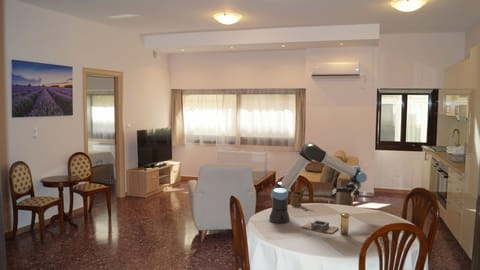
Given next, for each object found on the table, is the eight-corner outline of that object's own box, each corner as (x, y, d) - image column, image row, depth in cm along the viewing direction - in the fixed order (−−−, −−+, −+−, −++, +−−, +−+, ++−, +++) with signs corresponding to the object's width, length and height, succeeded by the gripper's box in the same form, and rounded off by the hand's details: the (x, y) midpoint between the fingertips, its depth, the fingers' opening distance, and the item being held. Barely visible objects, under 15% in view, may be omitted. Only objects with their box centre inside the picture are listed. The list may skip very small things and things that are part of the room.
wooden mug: (302, 207, 333) (303, 186, 331) (288, 204, 341) (288, 184, 339) (307, 205, 340) (307, 184, 339) (293, 202, 348) (293, 182, 346)
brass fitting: (338, 234, 265) (338, 214, 263) (341, 232, 270) (341, 212, 269) (347, 236, 261) (348, 216, 260) (350, 234, 266) (351, 213, 265)
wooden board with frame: (301, 228, 277) (301, 222, 277) (309, 223, 289) (309, 217, 288) (331, 234, 265) (331, 228, 265) (338, 228, 277) (338, 223, 276)
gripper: (367, 195, 291) (359, 201, 273) (334, 191, 304) (324, 196, 287) (367, 185, 290) (359, 190, 273) (335, 181, 304) (325, 186, 286)
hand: (341, 193), depth 280 cm, fingers open, 13 cm apart
